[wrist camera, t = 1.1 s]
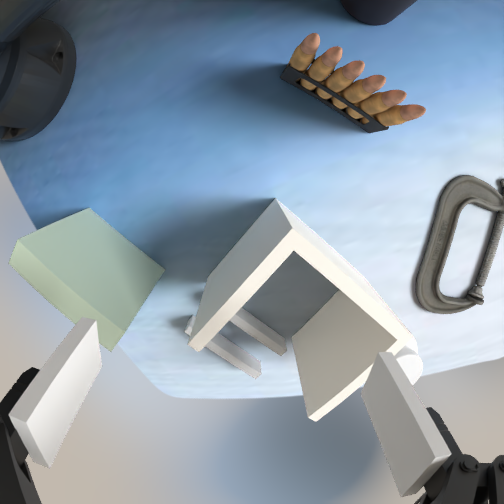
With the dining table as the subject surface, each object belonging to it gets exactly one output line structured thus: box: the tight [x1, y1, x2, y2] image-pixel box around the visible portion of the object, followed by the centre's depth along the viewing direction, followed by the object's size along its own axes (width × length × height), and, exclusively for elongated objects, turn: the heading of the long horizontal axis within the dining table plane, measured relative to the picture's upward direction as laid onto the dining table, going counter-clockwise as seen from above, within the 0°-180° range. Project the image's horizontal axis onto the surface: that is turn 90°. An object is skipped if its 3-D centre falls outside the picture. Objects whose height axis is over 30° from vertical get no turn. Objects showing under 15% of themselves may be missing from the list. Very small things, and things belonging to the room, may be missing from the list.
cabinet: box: [184, 198, 413, 421], centre depth 29 cm, size 13×17×13 cm
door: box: [9, 208, 165, 352], centre depth 27 cm, size 11×4×13 cm, turn 50°
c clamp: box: [416, 175, 504, 314], centre depth 33 cm, size 20×17×3 cm
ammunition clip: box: [280, 33, 426, 133], centre depth 23 cm, size 11×2×12 cm, turn 61°
